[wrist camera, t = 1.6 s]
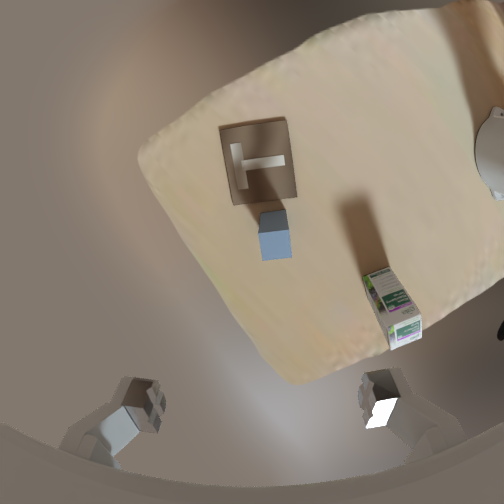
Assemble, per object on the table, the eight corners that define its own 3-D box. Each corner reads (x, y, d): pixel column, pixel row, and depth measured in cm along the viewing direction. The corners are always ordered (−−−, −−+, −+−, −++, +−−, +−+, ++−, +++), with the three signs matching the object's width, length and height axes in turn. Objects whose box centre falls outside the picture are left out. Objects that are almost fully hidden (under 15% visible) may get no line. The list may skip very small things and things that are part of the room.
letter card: (286, 120, 39) (286, 120, 38) (296, 196, 44) (297, 197, 43) (220, 130, 40) (219, 130, 40) (233, 204, 45) (233, 205, 44)
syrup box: (389, 265, 48) (422, 312, 35) (394, 290, 50) (423, 339, 37) (361, 276, 49) (387, 326, 36) (367, 300, 51) (390, 352, 38)
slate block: (285, 209, 45) (288, 229, 37) (288, 233, 47) (292, 257, 38) (260, 212, 45) (258, 233, 37) (264, 236, 47) (262, 260, 39)
